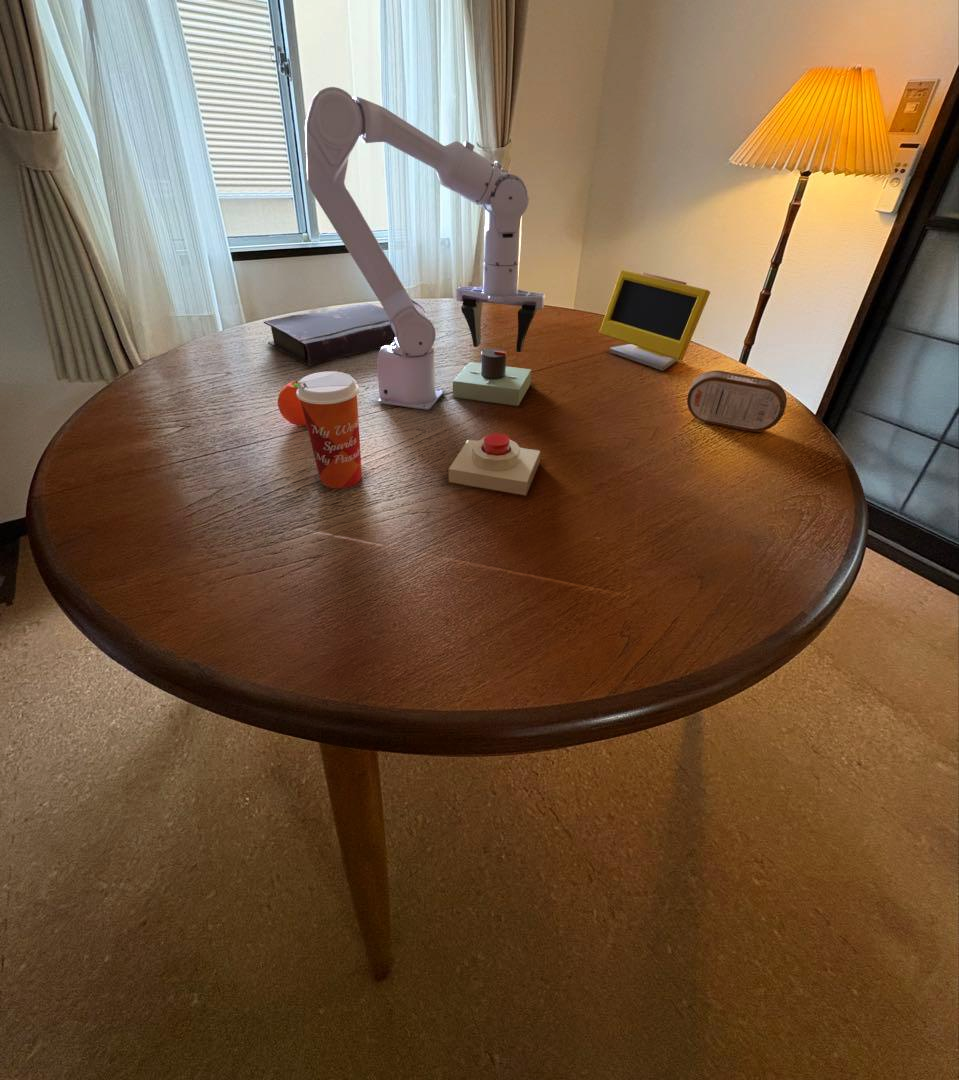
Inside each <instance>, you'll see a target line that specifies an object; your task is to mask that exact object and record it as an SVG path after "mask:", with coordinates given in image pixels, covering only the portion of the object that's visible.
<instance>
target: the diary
mask: <svg viewBox="0 0 959 1080" xmlns="http://www.w3.org/2000/svg"><path fill="white" fill-rule="evenodd" d="M263 324H265V325H267V326H269V327H270V329H271V334H272V339H273V341H269V342H267V344H268V345H269V346H271V347H273V348H275V349H277V350H278V351H281V352H282V353H284V354H285V355H288V356H289V357H291V358H293V359H294V360H297V361H298V362H300V363H302V364H304V365H305V366H308V367H311V366H315V365H318V364H323V363H326V362H329V361H332V360H335V359H340V358H343V357H348V356H352V355H356V354H361V353H366V352H369V351H373V350H375V349H378V348H382V347H383V346H385V345H389V346H390V345H391V344H392V343H393V341H394V338H395V337H396V336H395V333H394V331H393V330H392V328H391V326H390V322H389V317H388V315H387V313H386V312H385V310H384V308H383V307H381V306H378V305H376V304H372V303H369V302H364V303H358V304H354V305H353V304H352V305H350V306H344V307H340V308H334V309H330V310H325V311H320V312H313V313H311V312H310V313H303V314H294V315H288V316H284V317H279V318H275V319H270V320H264V321H263Z"/></svg>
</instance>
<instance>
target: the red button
mask: <svg viewBox="0 0 959 1080" xmlns="http://www.w3.org/2000/svg"><path fill="white" fill-rule="evenodd" d="M483 438H484V440H483V451H484V452H485V453H487V454H489V455H495V456H499V455H505V454H507V453H508V452H509V445H510V440H511V439H510V437H509V436H507V435H506V434H503V433H497V432H493V433H489V434H486V435H485V436H484V437H483Z"/></svg>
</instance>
